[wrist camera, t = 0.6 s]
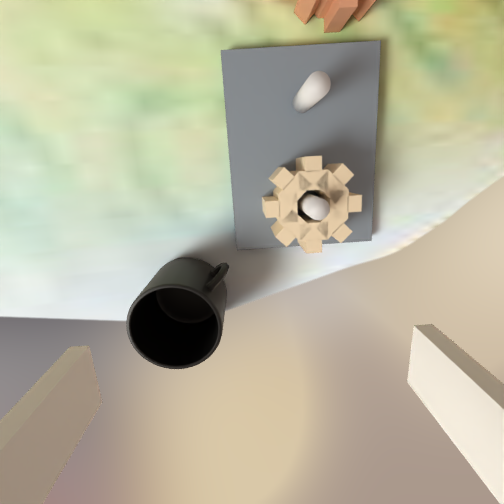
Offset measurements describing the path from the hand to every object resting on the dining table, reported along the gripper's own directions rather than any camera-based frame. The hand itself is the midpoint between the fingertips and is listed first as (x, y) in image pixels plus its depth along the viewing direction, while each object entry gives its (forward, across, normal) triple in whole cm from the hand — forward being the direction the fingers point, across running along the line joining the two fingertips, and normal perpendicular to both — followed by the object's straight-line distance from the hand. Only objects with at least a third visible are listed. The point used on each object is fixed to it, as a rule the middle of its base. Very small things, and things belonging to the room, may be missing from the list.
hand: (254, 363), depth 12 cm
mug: (+25, -7, -7) cm, 27 cm away
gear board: (+25, +7, +9) cm, 27 cm away
